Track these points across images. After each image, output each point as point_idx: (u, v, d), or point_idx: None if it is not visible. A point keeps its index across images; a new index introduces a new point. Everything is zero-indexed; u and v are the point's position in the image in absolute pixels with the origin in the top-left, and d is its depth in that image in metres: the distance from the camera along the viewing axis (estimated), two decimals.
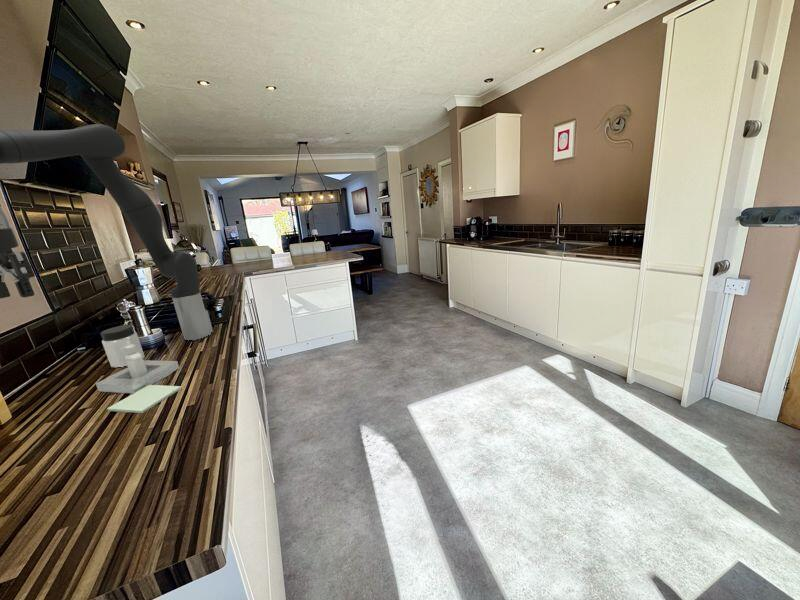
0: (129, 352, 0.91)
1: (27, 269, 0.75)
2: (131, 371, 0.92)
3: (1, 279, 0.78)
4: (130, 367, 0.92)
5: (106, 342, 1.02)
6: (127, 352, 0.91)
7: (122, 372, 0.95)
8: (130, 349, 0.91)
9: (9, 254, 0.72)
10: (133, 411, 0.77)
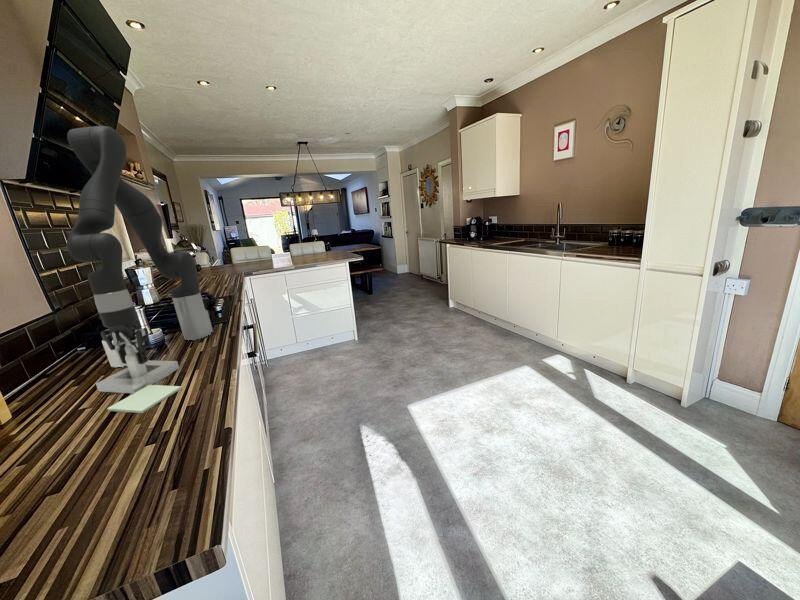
0: (129, 352, 0.91)
1: (145, 341, 0.91)
2: (131, 371, 0.92)
3: None
4: (130, 367, 0.92)
5: (106, 342, 1.02)
6: (127, 352, 0.91)
7: (122, 372, 0.95)
8: (130, 349, 0.91)
9: (137, 332, 0.88)
10: (133, 411, 0.77)
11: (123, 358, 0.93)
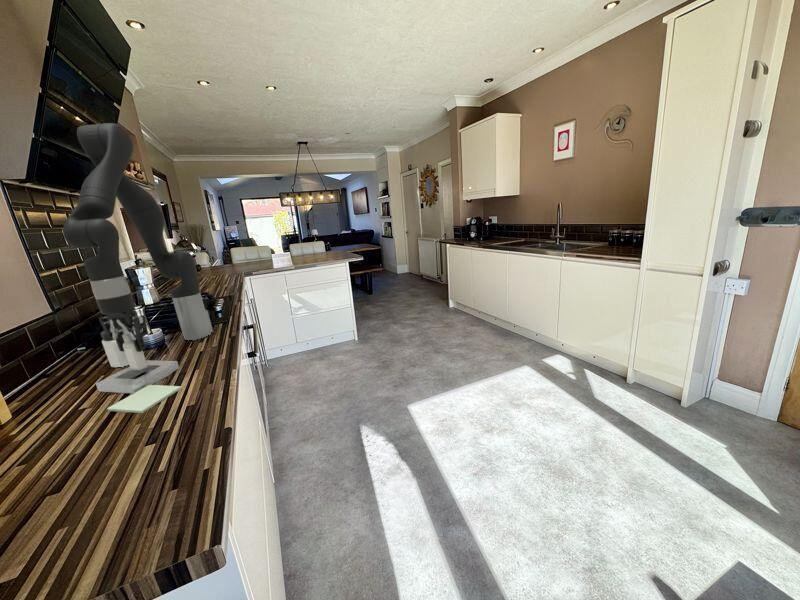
0: (127, 340, 0.91)
1: (143, 329, 0.90)
2: (129, 359, 0.92)
3: None
4: (128, 355, 0.91)
5: (106, 342, 1.02)
6: (125, 340, 0.91)
7: (122, 372, 0.95)
8: (128, 337, 0.91)
9: (135, 319, 0.87)
10: (133, 411, 0.77)
11: (121, 346, 0.92)
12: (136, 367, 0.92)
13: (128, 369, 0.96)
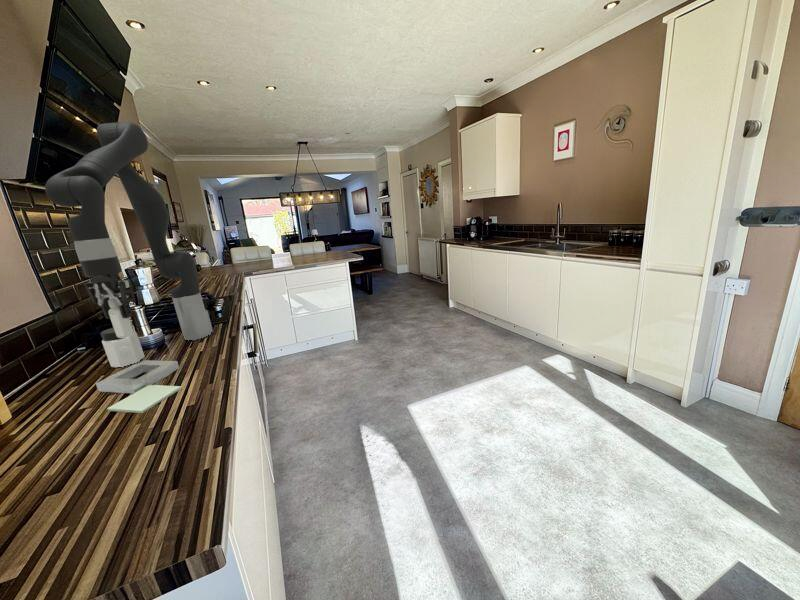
0: (112, 305, 0.87)
1: (130, 294, 0.87)
2: (115, 326, 0.88)
3: None
4: (114, 321, 0.88)
5: (106, 342, 1.02)
6: (110, 305, 0.87)
7: (122, 372, 0.95)
8: (113, 302, 0.87)
9: (120, 282, 0.84)
10: (133, 411, 0.77)
11: (107, 312, 0.89)
12: (122, 335, 0.88)
13: (128, 369, 0.96)
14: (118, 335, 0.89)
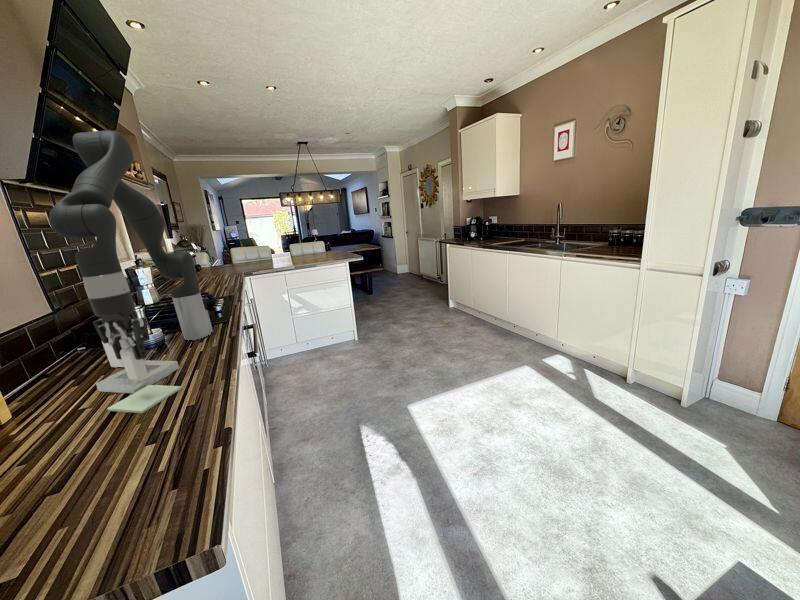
0: (125, 346, 0.78)
1: (144, 333, 0.78)
2: (127, 368, 0.79)
3: None
4: (126, 363, 0.79)
5: None
6: (122, 346, 0.78)
7: (122, 372, 0.95)
8: (126, 342, 0.78)
9: (134, 322, 0.75)
10: (133, 411, 0.77)
11: (118, 353, 0.80)
12: (135, 378, 0.79)
13: None
14: (130, 378, 0.80)
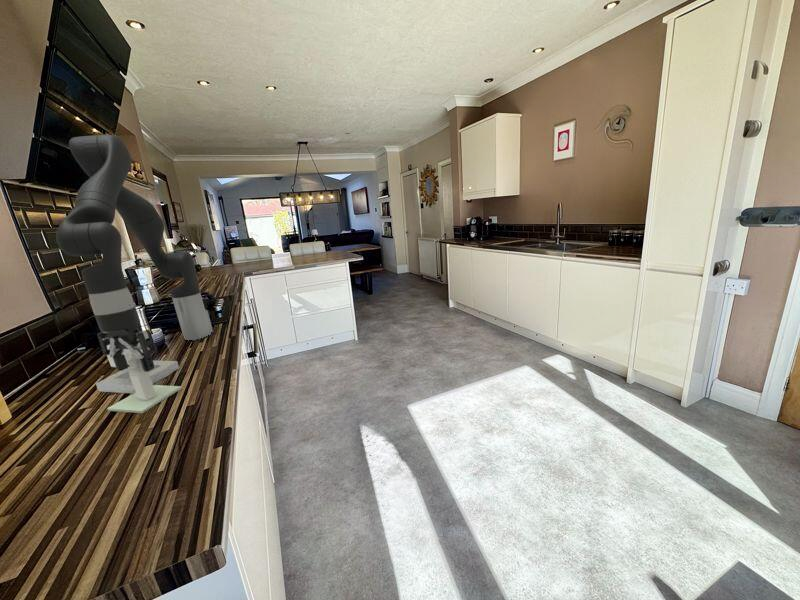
0: (133, 366, 0.80)
1: (151, 345, 0.78)
2: (135, 388, 0.81)
3: (121, 352, 0.82)
4: (134, 383, 0.80)
5: None
6: (131, 366, 0.80)
7: (122, 372, 0.95)
8: (134, 363, 0.80)
9: (138, 334, 0.76)
10: (133, 411, 0.77)
11: (119, 365, 0.81)
12: (143, 397, 0.81)
13: (128, 369, 0.96)
14: (139, 397, 0.81)
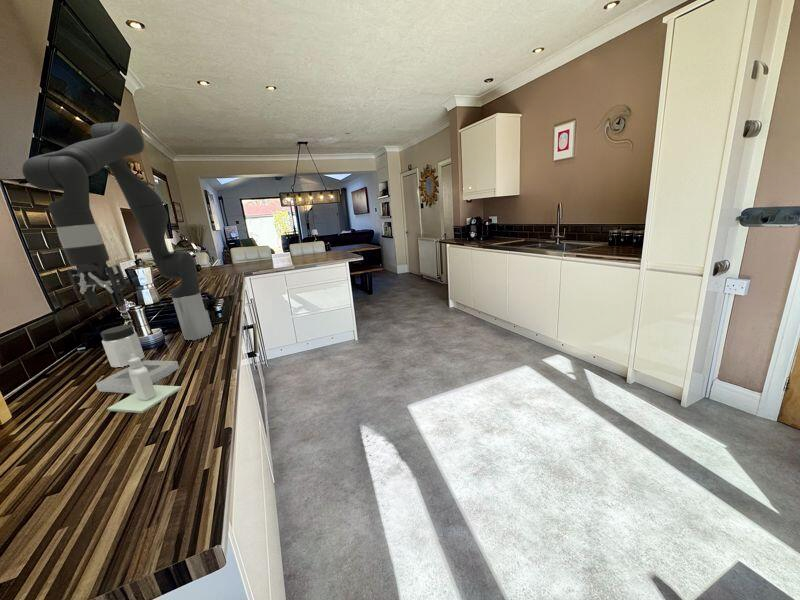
0: (133, 366, 0.80)
1: (120, 281, 0.82)
2: (135, 388, 0.81)
3: (92, 289, 0.85)
4: (134, 383, 0.80)
5: (106, 342, 1.02)
6: (131, 366, 0.80)
7: (122, 372, 0.95)
8: (134, 363, 0.80)
9: (107, 268, 0.79)
10: (133, 411, 0.77)
11: (90, 301, 0.84)
12: (143, 397, 0.81)
13: (128, 369, 0.96)
14: (139, 397, 0.81)
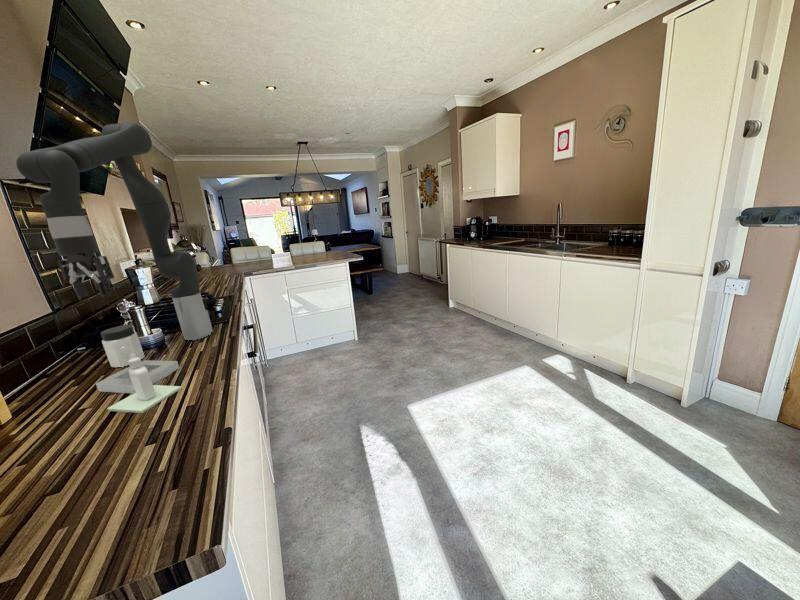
0: (133, 366, 0.80)
1: (108, 271, 0.84)
2: (135, 388, 0.81)
3: (81, 280, 0.87)
4: (134, 383, 0.80)
5: (106, 342, 1.02)
6: (131, 366, 0.80)
7: (122, 372, 0.95)
8: (134, 363, 0.80)
9: (94, 258, 0.81)
10: (133, 411, 0.77)
11: (79, 291, 0.86)
12: (143, 397, 0.81)
13: (128, 369, 0.96)
14: (139, 397, 0.81)
